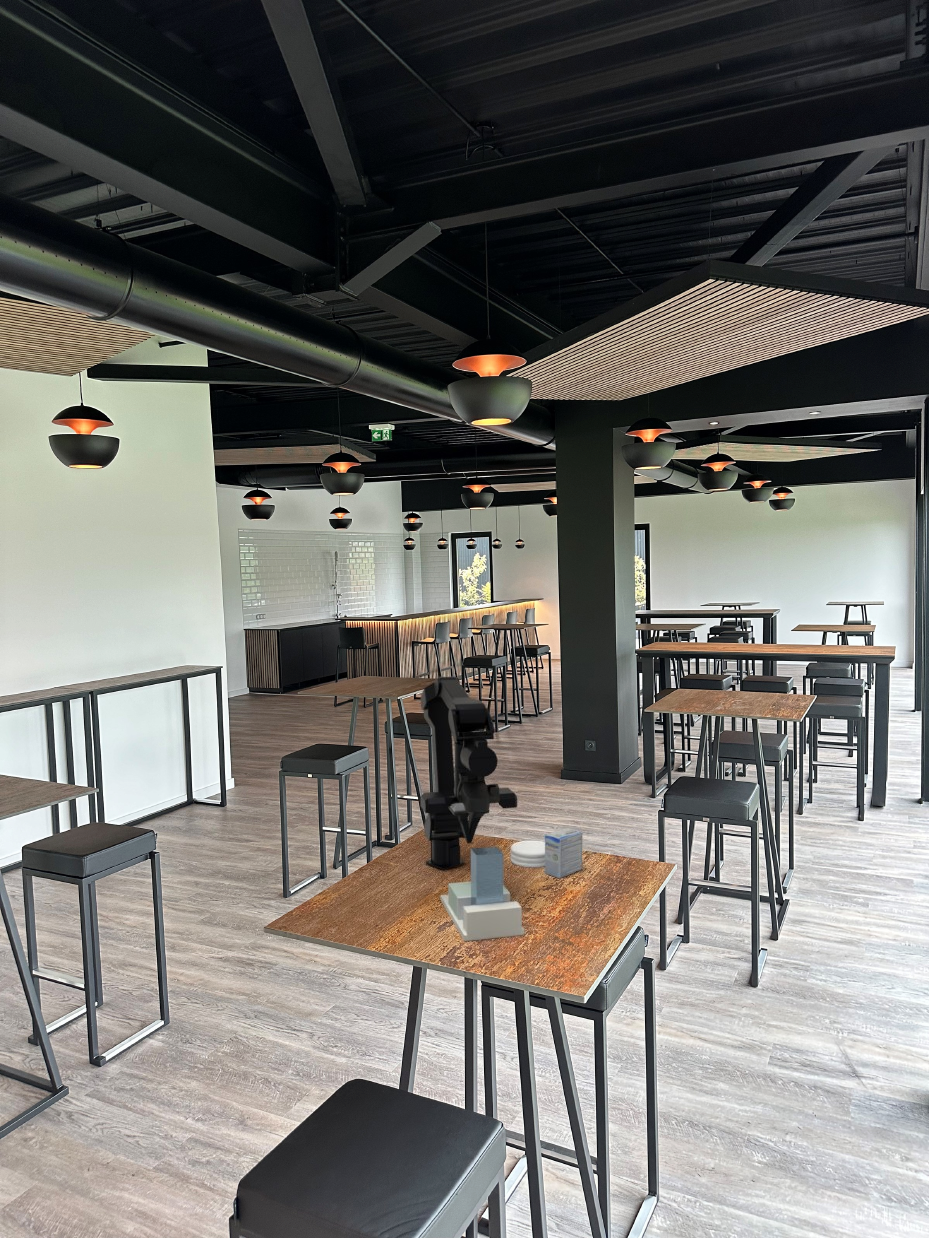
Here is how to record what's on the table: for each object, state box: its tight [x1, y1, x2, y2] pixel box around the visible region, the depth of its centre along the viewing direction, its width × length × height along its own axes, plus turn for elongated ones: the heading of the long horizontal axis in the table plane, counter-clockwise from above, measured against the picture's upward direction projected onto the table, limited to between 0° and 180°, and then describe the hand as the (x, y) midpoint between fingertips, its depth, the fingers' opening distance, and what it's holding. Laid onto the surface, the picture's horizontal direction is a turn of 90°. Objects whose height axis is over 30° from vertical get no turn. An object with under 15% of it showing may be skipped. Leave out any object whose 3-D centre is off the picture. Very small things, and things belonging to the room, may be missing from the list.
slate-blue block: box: [470, 846, 504, 906], centre depth 149 cm, size 4×5×13 cm
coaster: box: [509, 840, 545, 868], centre depth 187 cm, size 10×10×4 cm
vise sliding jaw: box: [447, 881, 511, 920], centre depth 155 cm, size 8×10×4 cm
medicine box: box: [544, 827, 583, 879], centre depth 179 cm, size 8×4×9 cm, turn 135°
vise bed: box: [440, 893, 525, 942], centre depth 154 cm, size 20×11×5 cm, turn 14°
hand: (468, 842), depth 164 cm, fingers closed
